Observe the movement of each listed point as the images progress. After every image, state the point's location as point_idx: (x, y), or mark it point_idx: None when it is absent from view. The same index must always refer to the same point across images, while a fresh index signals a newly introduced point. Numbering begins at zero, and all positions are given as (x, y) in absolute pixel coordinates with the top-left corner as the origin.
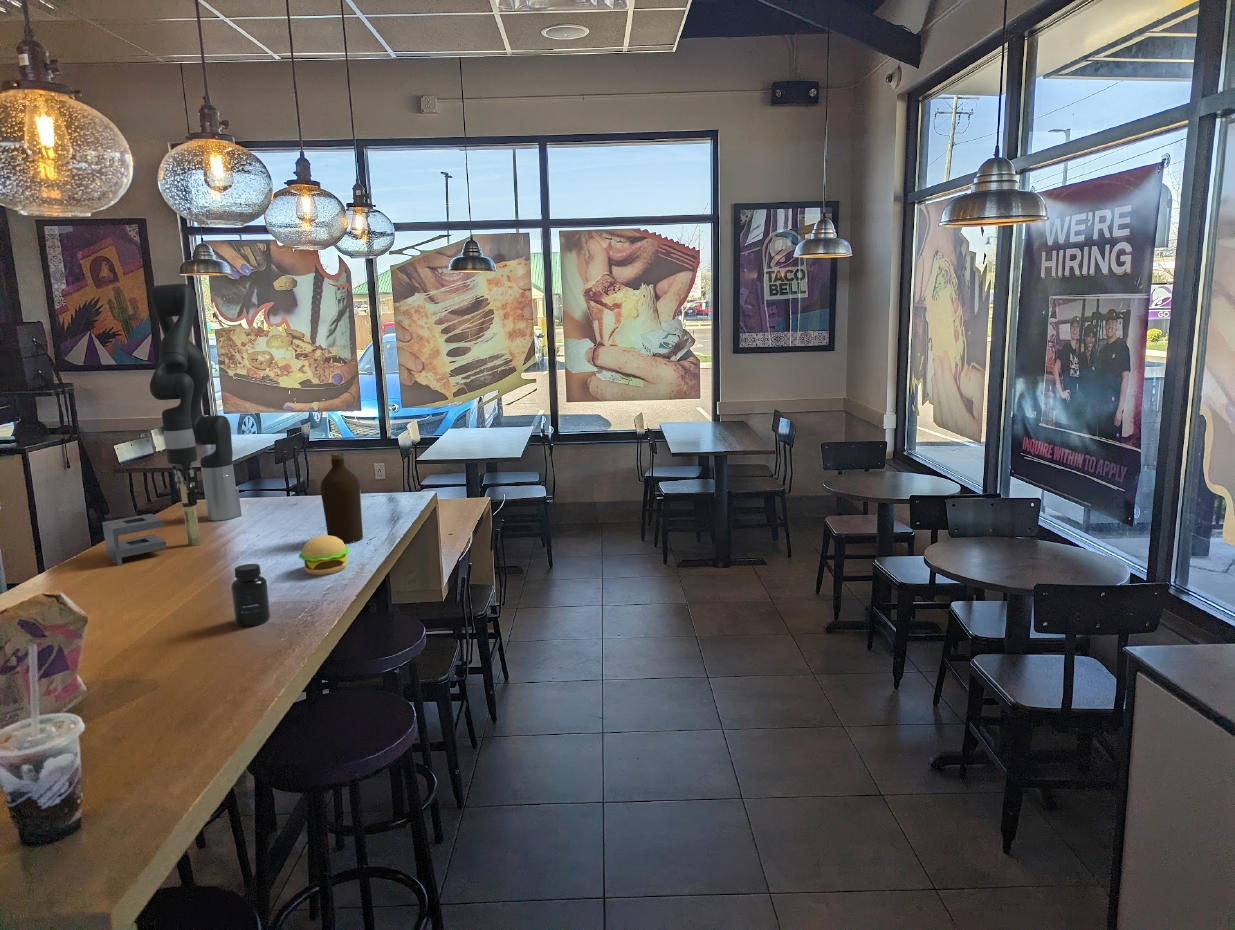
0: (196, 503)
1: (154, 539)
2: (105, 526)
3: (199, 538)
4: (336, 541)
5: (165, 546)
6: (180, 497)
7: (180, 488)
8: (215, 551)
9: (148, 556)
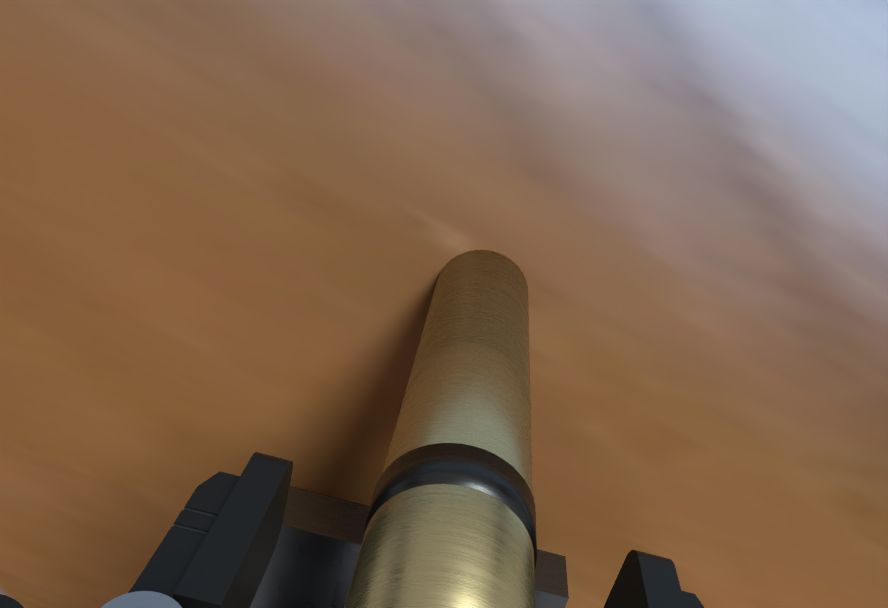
0: (667, 568)
1: None
2: None
3: (521, 289)
4: None
5: (565, 572)
6: (253, 590)
7: None
8: (851, 343)
9: None
